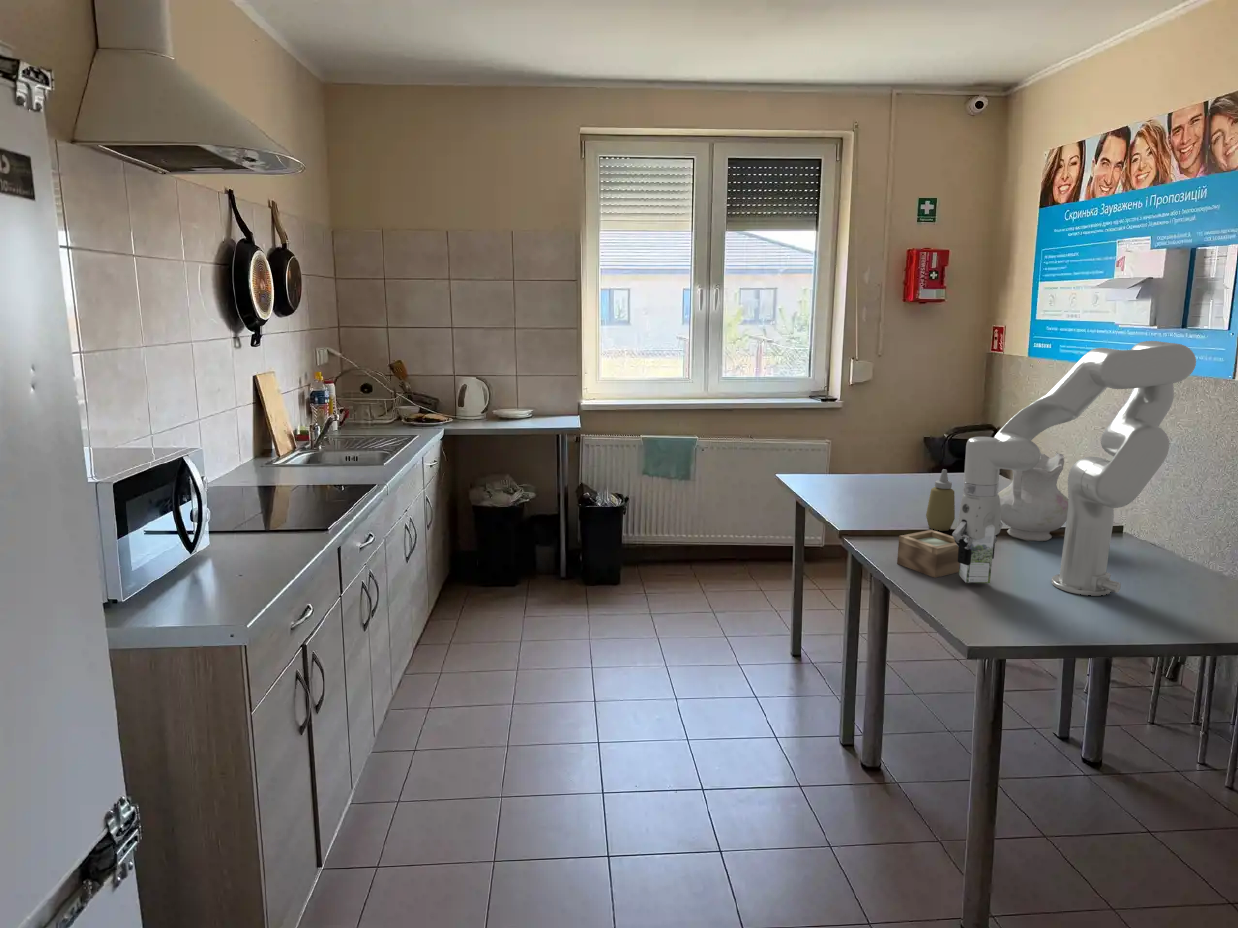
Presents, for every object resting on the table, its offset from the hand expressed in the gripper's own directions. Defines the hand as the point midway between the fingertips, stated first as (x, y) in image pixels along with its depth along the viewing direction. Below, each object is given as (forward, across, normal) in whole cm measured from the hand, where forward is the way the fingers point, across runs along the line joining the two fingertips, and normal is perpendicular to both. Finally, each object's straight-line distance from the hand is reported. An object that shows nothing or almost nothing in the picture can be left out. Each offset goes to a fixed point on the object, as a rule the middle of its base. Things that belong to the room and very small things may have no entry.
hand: (975, 560), depth 197 cm
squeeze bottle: (+6, +31, +37) cm, 48 cm away
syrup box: (+5, 0, 0) cm, 5 cm away
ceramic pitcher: (+7, +48, +20) cm, 52 cm away
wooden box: (+6, +1, +14) cm, 15 cm away
